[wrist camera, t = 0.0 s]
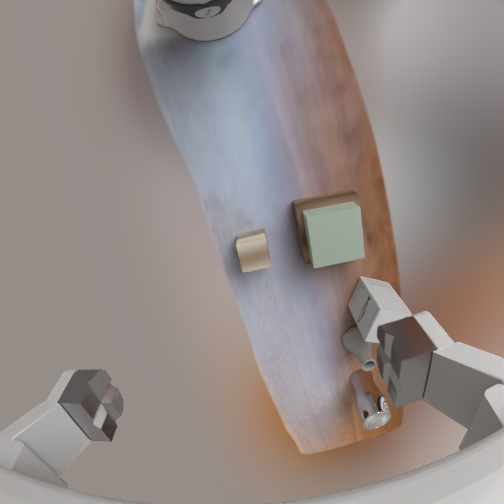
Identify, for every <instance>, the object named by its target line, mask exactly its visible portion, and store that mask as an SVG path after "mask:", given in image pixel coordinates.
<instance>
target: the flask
mask: <svg viewBox="0 0 504 504" xmlns="http://www.w3.org/2000/svg"><path fill="white" fill-rule="evenodd" d="M341 338H342V342H343V346H344V347H345V348H346V349H347V350H349V351H350V352H351V353H352V354H354V355H355V356H356V357H357V358H358V359H359V361H360V362H361V365H362V370H364V371H366V372H367V371H370V370H372V369H373V368H374V367H375V366H376V361H375V360H374V359H373V358H372V355H371V343H372V342H366V341H364V338H363V336H362V334H361V332H360V330H359V328H358V326H355V327H352V328H349V330H348V331H347V332H346V333H345V334H344V335H343V336H342V337H341Z"/></svg>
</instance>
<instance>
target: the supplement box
mask: <svg viewBox="0 0 504 504" xmlns="http://www.w3.org/2000/svg"><path fill="white" fill-rule="evenodd" d="M348 307H349V309H350V311H351V313H352V315H353V317H354V320H355V322H356V324H357V326H358V328H359V330H360V332H361V334H362V336H363V338H364V341H366V342H374V343H380V342H379V340H378V338H377V328H378V325H382V324H386V323H389V322H393V321H396V320H399V319H403V318H406V317H410V316H411V315H412V313H411V312H410V310H409V309H408V308H407V306H406V305H405V304H404V302H403V301H402V300H401V298H400V297H399V296H398V295H397V293H396V292H395V291H394V289H393V288H392V287H391V285H390V284H389V283H388V282H384V281H380V280H375V279H371V278H366V277H362V276H360V277H359V280H358V283H357V286H356V288H355V291H354V293H353V295H352V297H351V300H350V302H349V304H348Z"/></svg>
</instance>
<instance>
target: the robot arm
mask: <svg viewBox="0 0 504 504" xmlns="http://www.w3.org/2000/svg"><path fill="white" fill-rule="evenodd" d="M261 1H262V0H157V16H156V20H157V22H158V24H159V25H161V26H165V27H170V28H173V29H175V30H176V31H177V32H179V33H180V34H182V35H183V36H185V37H188V38H190V39H194V40H200V41H209V40H216V39H220V38H223V37H226V36H228V35H230V34H232V33H233V32H235V31H236V30H237V29H239V28H240V27H241V26H242V25H243V24H244V22H245V21H246V19H247V18H248V16H249V13H250V12H251V10H252V9H253V8H254V7H255V6H256V5H258V4H259V3H260V2H261ZM377 338H378V340H379V342H380V345H379V347H378V348H377V364H378V368H379V372H380V374H381V377H382V379H383V380H384V381H386V382H388V392H389V395H390V397H391V399H392V401H393V404H394V406H395V407H399V406H402V405H405V404H408V403H412V402H415V401H418V400H421V399H423V400H424V401H425V402H427V403H428V404H430V405H431V406H433V407H434V408H436V409H437V410H439V411H440V412H442V413H444V414H445V415H447V416H448V417H450V418H451V419H453V420H454V421H456V422H457V423H459V424H461V425H462V426H464V427H465V428H467V429H468V431H467V433H466V435H465V437H464V439H463V441H462V443H461V444H460V447H459V449H460V451H458V452H456V453H454V454H451V455H449V456H447V457H445V458H442V459H440V460H438V461H436V462H433V463H430V464H428V465H425V466H423V467H420V468H418V469H415V470H412V471H410V472H407V473H404V474H401V475H398V476H395V477H392V478H389V479H386V480H383V481H379V482H376V483H372V484H369V485H366V486H362V487H358V488H354V489H350V490H346V491H341V492H337V493H333V494H327V495H323V496H318V497H312V498H306V499H299V500H292V501H285V502H277V503H268V504H504V358H501V357H499V356H496V355H493V354H491V353H488V352H485V351H482V350H480V349H477V348H474V347H472V346H468V345H466V344H463V343H461V342H457V343H454V342H453V341H452V339H450V337H449V336H448V335H447V333H446V332H445V331H444V330H443V328H442V327H441V326H440V325H439V324H438V322H437V321H436V320H435V319H434V317H433V316H432V315H431V314H430V313H429V312H428V311H423V312H420V313H417V314H414V315H411V316H410V317H406V318H403V319H399V320H396V321H393V322H389V323H386V324H382V325H378V328H377ZM110 382H111V378H110V376H109V375H108V373H107V372H106V371H104V370H67V371H65V372H63V374H62V376H61V378H60V379H59V381H58V382H57V384H56V385H55V387H54V389H53V390H52V392H51V394H50V396H49V397H48V399H47V401H46V402H42V403H40V404H39V405H38V406H36V407H35V408H34V409H32V410H31V411H29V412H28V413H27V414H25V415H24V416H22V417H21V418H20V419H18V420H17V421H16V422H14V423H13V424H11V425H10V426H9V427H7V428H6V429H4V430H3V431H2V432H0V504H153V503H143V502H135V501H128V500H121V499H115V498H109V497H104V496H99V495H94V494H89V493H85V492H80V491H76V490H72V489H68V484H67V483H66V482H65V481H64V480H63V479H62V478H60V477H59V476H60V474H61V473H62V472H63V471H64V470H65V469H66V468H67V467H68V466H69V465H70V464H71V463H72V461H74V459H76V457H77V456H78V455H79V454H80V453H81V452H82V451H83V450H84V449H85V448H86V447H87V446H88V445H89V443H90V442H91V441H90V440H92V441H93V440H94V441H108V442H111V441H112V439H113V436H114V434H115V431H116V428H117V425H116V422H115V420H117V419H118V418H119V417H120V416H121V414H122V411H123V399H122V396H121V393H120V392H119V390H118V389H117V388H116V387H115V386H113V385H112V384H110Z"/></svg>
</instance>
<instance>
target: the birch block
mask: <svg viewBox="0 0 504 504" xmlns="http://www.w3.org/2000/svg"><path fill="white" fill-rule="evenodd" d="M236 248H237V252H238V256H239V260H240V264H241V268H242V271H243V273H245V272H250V271H255V270H260V269H265V268H269V267H272V266H271V259H270V253H269V248H268V244H267V239H266V234H265V230H264V229H260V230H255V231H251V232H246V233H241V234H237V242H236Z"/></svg>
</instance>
